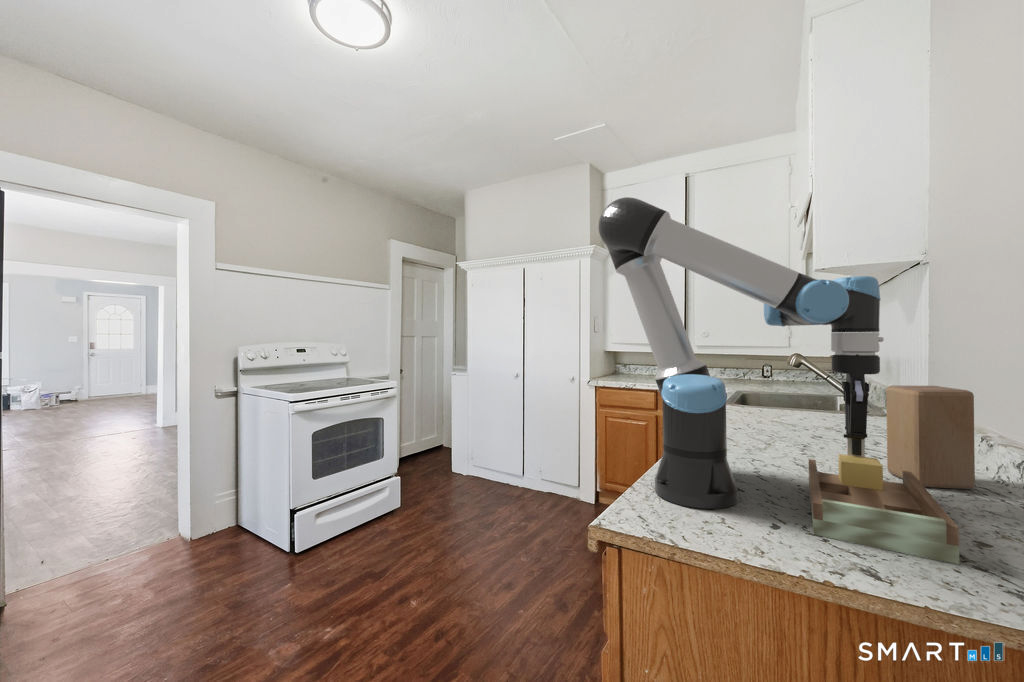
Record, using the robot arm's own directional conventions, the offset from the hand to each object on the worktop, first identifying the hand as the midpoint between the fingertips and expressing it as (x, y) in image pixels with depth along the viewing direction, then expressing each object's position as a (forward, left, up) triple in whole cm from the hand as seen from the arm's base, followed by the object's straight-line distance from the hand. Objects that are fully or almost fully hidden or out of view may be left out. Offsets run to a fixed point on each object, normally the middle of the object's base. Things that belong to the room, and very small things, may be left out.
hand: (855, 469), depth 84 cm
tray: (0, -14, -4) cm, 14 cm away
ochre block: (0, -4, -2) cm, 4 cm away
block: (+13, +14, -4) cm, 20 cm away
